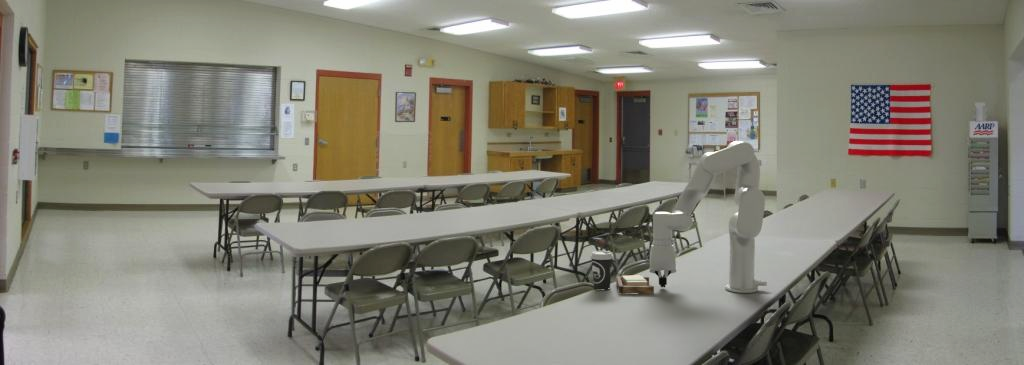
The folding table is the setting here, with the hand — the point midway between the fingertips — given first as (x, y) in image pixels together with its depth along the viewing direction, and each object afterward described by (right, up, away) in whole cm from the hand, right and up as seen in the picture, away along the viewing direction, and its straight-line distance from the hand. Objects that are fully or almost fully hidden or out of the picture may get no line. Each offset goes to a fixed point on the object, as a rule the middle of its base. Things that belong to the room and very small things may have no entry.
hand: (662, 286), depth 268 cm
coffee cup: (-25, -1, +2) cm, 25 cm away
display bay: (-11, -1, +1) cm, 11 cm away
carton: (-11, -1, +1) cm, 11 cm away
